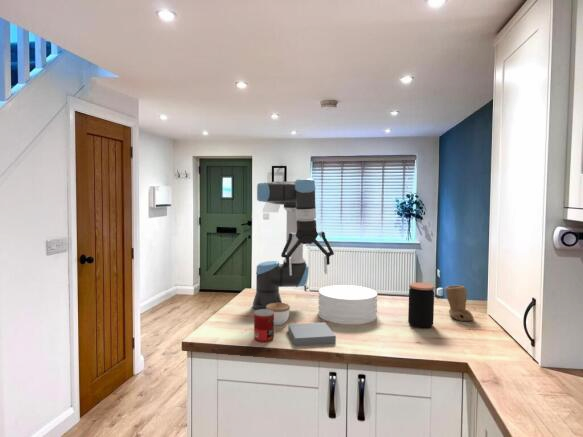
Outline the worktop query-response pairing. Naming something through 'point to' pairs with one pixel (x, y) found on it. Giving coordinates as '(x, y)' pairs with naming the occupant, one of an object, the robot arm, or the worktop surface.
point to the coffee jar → (421, 305)
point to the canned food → (264, 325)
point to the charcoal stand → (311, 334)
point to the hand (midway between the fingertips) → (308, 273)
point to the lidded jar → (279, 312)
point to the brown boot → (458, 302)
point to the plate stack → (347, 304)
